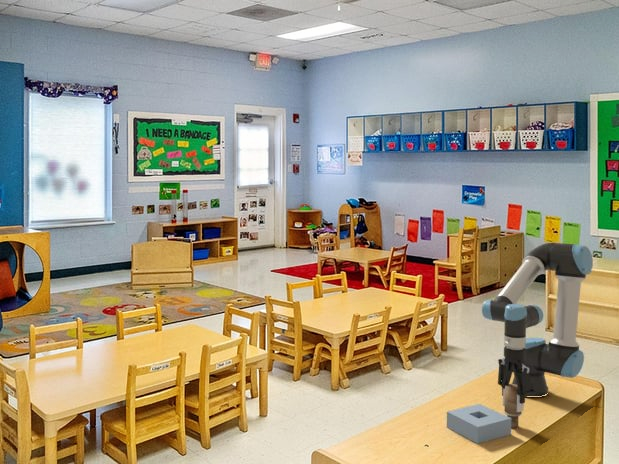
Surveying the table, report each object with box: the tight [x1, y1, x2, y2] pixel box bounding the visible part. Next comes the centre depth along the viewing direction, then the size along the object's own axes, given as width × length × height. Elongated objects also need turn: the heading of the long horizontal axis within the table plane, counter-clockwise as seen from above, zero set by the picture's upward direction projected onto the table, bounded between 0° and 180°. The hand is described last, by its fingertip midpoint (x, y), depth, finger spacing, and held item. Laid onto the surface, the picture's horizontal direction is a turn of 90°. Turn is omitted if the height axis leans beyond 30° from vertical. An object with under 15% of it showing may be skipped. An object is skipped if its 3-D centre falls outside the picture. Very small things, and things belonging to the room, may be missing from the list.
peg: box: [503, 383, 523, 429], centre depth 228 cm, size 6×6×15 cm
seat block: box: [446, 403, 512, 445], centre depth 225 cm, size 16×16×6 cm
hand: (513, 408), depth 228 cm, fingers closed on peg, 6 cm apart
